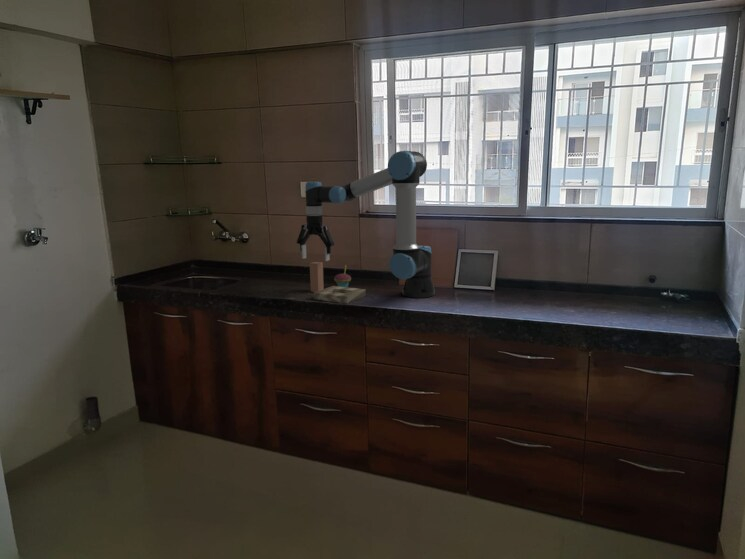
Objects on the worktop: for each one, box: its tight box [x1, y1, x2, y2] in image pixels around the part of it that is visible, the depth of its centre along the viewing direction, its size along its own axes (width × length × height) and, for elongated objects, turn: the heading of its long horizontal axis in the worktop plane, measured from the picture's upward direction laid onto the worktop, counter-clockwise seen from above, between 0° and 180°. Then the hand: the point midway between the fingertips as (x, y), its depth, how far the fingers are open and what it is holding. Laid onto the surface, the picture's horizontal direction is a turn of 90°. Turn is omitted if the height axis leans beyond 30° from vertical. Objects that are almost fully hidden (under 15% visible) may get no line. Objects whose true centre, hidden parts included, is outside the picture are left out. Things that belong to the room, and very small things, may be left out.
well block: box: [313, 285, 367, 304], centre depth 240 cm, size 18×16×3 cm
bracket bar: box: [309, 261, 325, 293], centre depth 252 cm, size 4×4×14 cm
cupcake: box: [333, 264, 352, 288], centre depth 259 cm, size 9×8×12 cm
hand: (315, 259), depth 251 cm, fingers open, 13 cm apart
